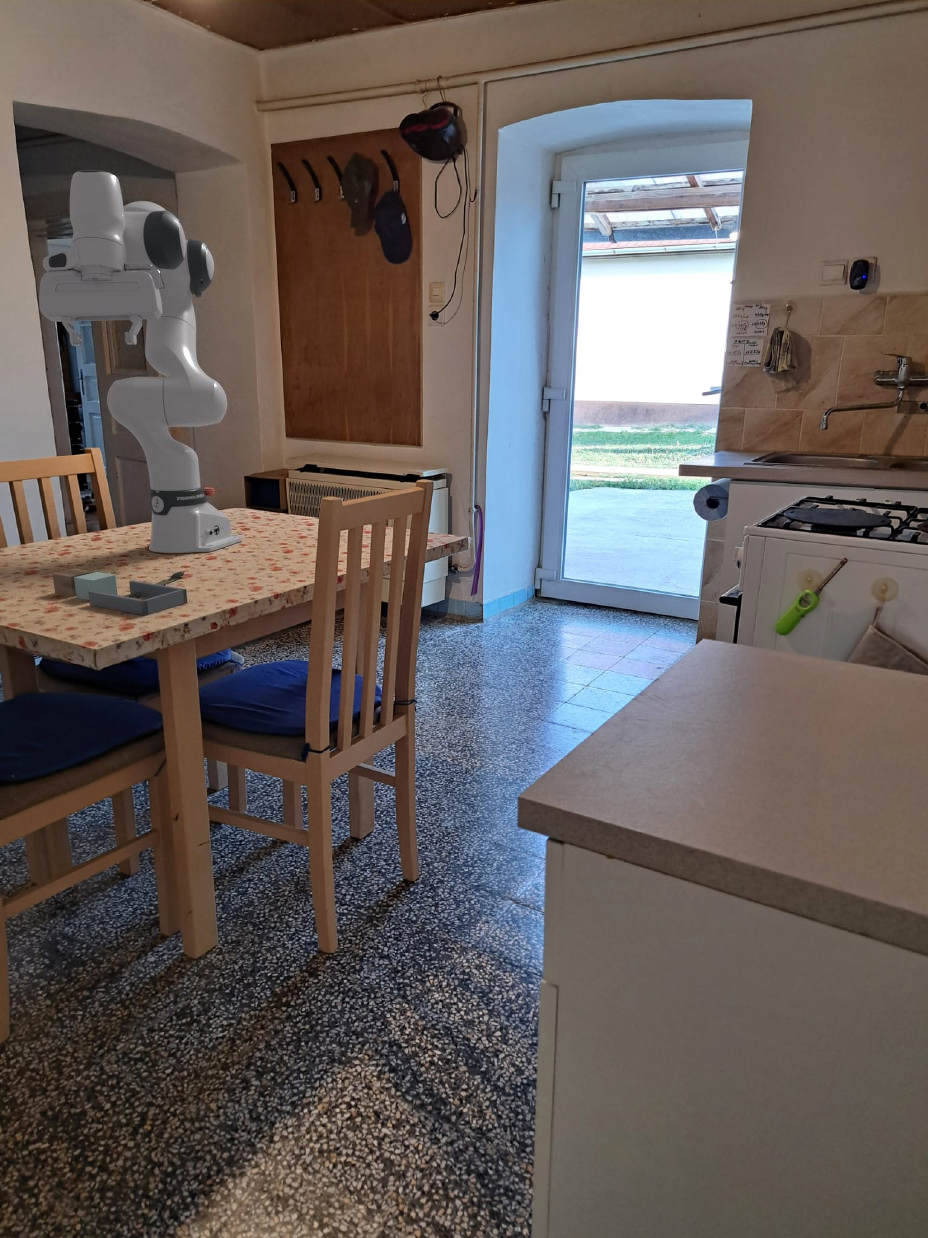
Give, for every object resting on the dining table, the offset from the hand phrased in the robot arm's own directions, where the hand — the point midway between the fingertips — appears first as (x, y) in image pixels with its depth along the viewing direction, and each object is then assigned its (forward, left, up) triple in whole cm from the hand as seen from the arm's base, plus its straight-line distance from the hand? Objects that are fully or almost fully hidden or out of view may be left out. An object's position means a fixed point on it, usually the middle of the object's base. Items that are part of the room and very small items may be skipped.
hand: (103, 344), depth 148 cm
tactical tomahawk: (-4, +3, -45) cm, 46 cm away
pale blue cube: (+6, -2, -45) cm, 45 cm away
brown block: (+6, -8, -45) cm, 46 cm away
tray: (+6, +9, -45) cm, 46 cm away
